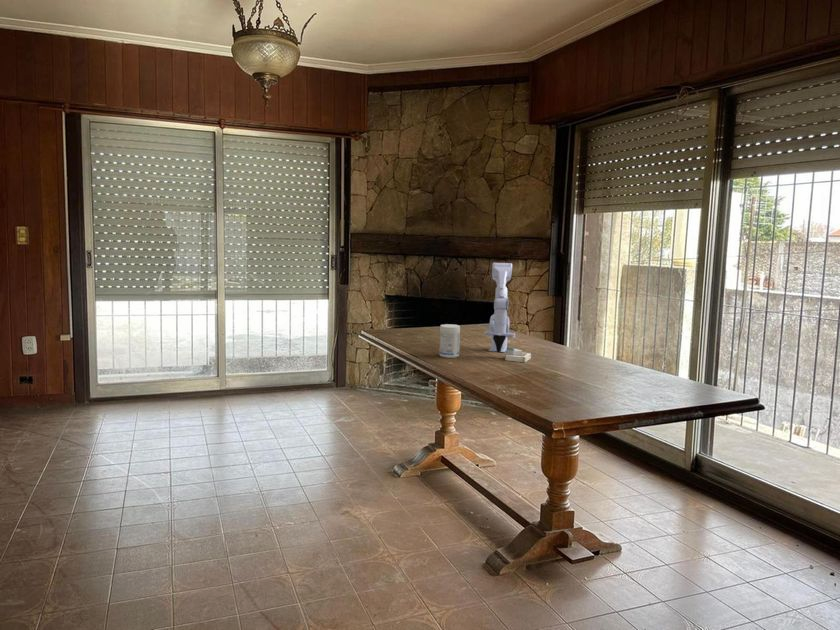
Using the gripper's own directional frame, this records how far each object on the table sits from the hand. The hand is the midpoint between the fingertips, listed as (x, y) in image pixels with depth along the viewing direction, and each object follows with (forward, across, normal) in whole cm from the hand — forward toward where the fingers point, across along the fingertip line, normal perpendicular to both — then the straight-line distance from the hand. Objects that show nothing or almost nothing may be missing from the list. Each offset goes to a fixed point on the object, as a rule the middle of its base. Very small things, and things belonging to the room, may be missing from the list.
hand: (498, 351), depth 303 cm
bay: (+3, +9, 0) cm, 9 cm away
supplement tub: (+3, -21, -11) cm, 24 cm away
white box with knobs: (+3, +8, 0) cm, 8 cm away
